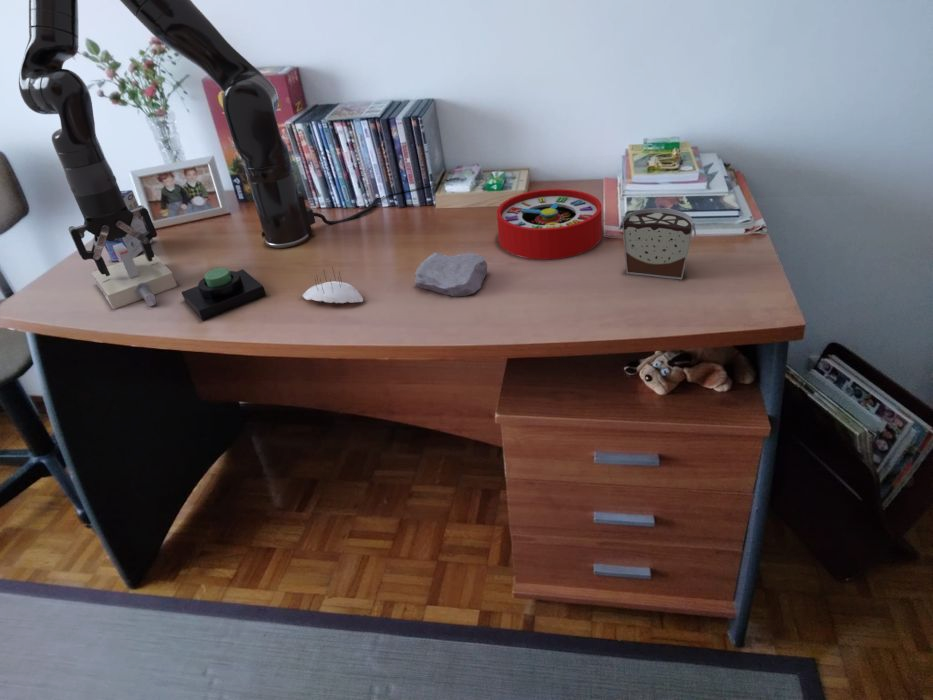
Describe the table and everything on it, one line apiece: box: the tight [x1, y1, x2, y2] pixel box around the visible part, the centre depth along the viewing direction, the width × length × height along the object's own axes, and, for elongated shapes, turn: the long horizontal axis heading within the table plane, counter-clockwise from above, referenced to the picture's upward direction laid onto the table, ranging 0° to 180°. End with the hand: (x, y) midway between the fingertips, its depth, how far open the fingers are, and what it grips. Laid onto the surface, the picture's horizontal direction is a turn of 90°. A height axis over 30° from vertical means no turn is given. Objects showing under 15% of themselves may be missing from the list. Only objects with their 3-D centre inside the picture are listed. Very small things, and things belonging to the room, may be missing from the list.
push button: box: [203, 267, 232, 287], centre depth 122 cm, size 4×4×2 cm
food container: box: [618, 207, 697, 280], centre depth 114 cm, size 12×6×10 cm, turn 65°
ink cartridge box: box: [104, 189, 154, 262], centre depth 144 cm, size 10×6×14 cm, turn 174°
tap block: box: [91, 253, 178, 310], centre depth 132 cm, size 12×14×3 cm
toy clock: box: [496, 188, 603, 260], centre depth 131 cm, size 20×6×20 cm
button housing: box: [181, 268, 267, 322], centre depth 123 cm, size 12×10×4 cm
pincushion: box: [301, 266, 364, 305], centre depth 118 cm, size 12×6×6 cm, turn 70°
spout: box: [135, 282, 157, 307], centre depth 125 cm, size 3×5×3 cm, turn 37°
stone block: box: [414, 252, 488, 298], centre depth 119 cm, size 12×5×10 cm
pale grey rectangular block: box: [113, 243, 140, 279], centre depth 130 cm, size 6×2×5 cm, turn 37°
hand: (128, 267), depth 131 cm, fingers open, 7 cm apart
